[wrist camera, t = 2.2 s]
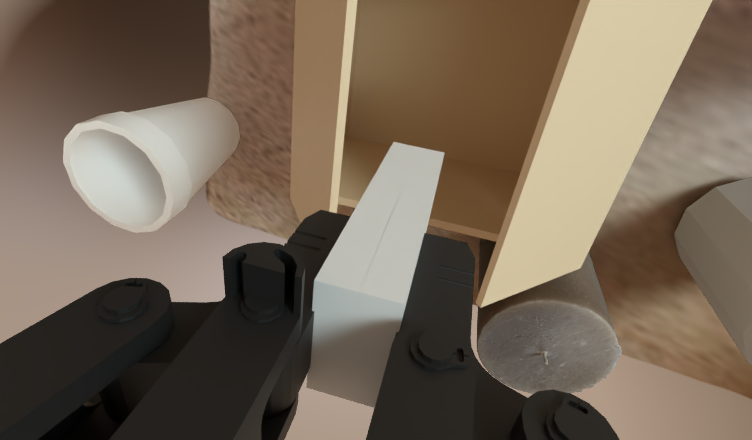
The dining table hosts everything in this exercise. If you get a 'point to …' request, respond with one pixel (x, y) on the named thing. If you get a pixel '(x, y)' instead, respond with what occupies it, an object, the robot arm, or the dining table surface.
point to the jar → (722, 255)
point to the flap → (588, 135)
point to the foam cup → (148, 160)
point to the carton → (452, 97)
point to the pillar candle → (548, 332)
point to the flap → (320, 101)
